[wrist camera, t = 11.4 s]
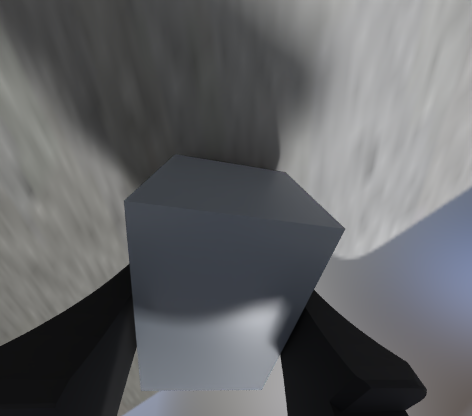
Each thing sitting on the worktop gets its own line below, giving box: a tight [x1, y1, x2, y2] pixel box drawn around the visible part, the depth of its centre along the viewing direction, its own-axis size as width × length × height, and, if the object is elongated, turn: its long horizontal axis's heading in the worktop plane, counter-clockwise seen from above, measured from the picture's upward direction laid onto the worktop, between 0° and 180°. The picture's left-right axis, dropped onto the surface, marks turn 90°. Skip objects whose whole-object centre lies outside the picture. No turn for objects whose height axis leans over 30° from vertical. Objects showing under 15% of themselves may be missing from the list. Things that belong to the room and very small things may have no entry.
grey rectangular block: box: [124, 154, 345, 391], centre depth 10 cm, size 6×11×6 cm, turn 170°
